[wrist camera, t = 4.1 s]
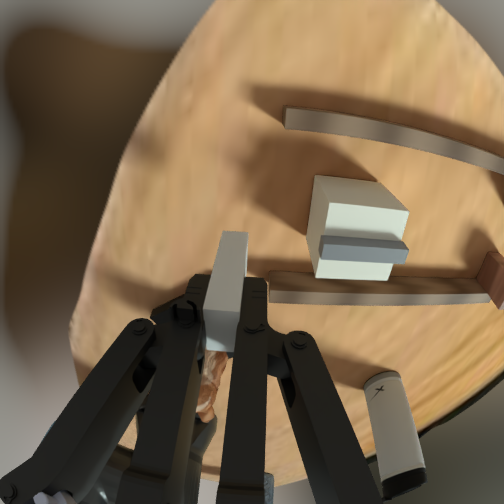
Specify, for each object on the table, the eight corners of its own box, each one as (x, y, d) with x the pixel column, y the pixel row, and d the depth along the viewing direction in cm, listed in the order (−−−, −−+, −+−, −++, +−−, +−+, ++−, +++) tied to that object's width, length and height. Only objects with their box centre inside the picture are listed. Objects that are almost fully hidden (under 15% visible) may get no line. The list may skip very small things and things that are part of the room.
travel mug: (366, 373, 38) (390, 498, 21) (405, 367, 38) (437, 483, 21) (357, 394, 42) (375, 505, 25) (393, 388, 41) (418, 493, 24)
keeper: (303, 237, 27) (314, 287, 20) (312, 174, 23) (330, 209, 17) (368, 242, 27) (394, 290, 20) (382, 183, 23) (418, 219, 17)
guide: (268, 282, 30) (268, 325, 25) (283, 105, 21) (290, 111, 16) (483, 288, 30) (504, 318, 24) (527, 167, 20) (561, 188, 15)
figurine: (153, 308, 33) (121, 395, 22) (223, 274, 30) (205, 374, 19) (205, 357, 37) (191, 438, 27) (272, 333, 34) (273, 425, 24)
